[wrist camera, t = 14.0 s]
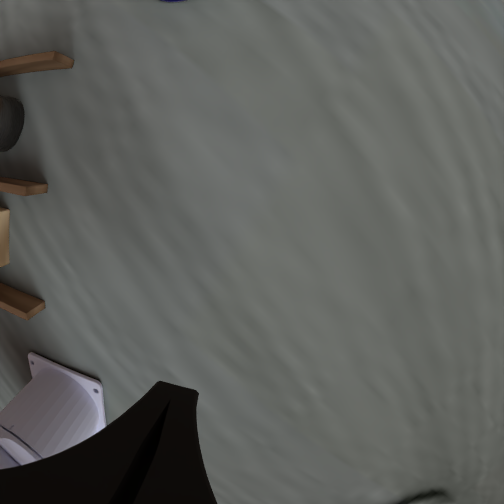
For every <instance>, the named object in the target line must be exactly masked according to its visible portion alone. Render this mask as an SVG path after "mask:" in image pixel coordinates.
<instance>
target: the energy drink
mask: <svg viewBox="0 0 504 504" xmlns="http://www.w3.org/2000/svg"><path fill="white" fill-rule="evenodd" d="M161 1H165V2H181V1H186V0H161Z"/></svg>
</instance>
